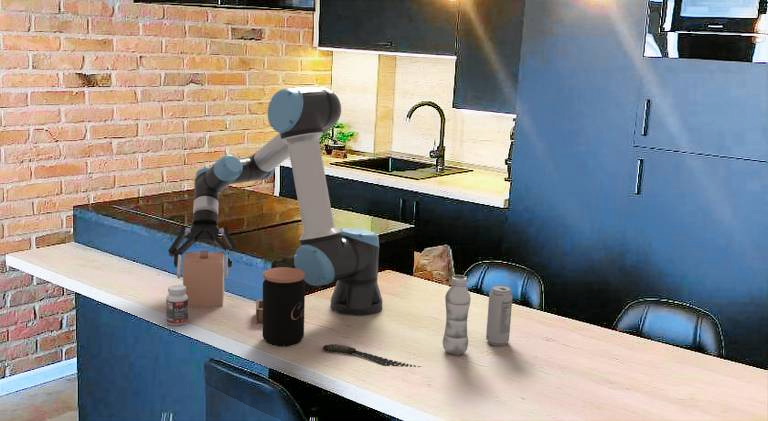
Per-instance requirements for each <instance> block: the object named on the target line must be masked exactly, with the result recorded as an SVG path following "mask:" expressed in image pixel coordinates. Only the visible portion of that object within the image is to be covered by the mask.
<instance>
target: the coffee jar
mask: <svg viewBox="0 0 768 421" xmlns="http://www.w3.org/2000/svg"><path fill="white" fill-rule="evenodd" d="M262 276H263V279H264V280H263V282H262V300H263V323H262V331H261V332H262V337H263V340H264V342H265V343H266V344H268V345H270V346H274V347H290V346H291V347H292V346H296V345H298V344H299V343H301V341H302V339H304V336H305V302H306V301H305V297H306V296H305V294H306V290H305V289H306V282H305V280H304V277H305V273H304V271H302V270H299V269H296V267H288V266H287V267H283V266H282V267H279V266H278V267H273V268H269V269H268V268H267V269H266V270H264V271H263V272H262Z"/></svg>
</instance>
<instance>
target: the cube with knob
mask: <svg viewBox="0 0 768 421" xmlns="http://www.w3.org/2000/svg"><path fill="white" fill-rule="evenodd" d="M184 254H185V255H184V259H183V260H182V285H184V286H186V292H185V294H186V295H187V296H188V308H189V307H223V306H224V300H225V299H224V297H225V253H224V252H223V251H219V252H218V251H217V252H216V251H211V252H210V251H208V250H201V251H199V252H197V251H193V252H190V251H189V252H188V251H185V253H184Z"/></svg>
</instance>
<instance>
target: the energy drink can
mask: <svg viewBox="0 0 768 421" xmlns="http://www.w3.org/2000/svg"><path fill="white" fill-rule="evenodd" d="M512 307H513V293H512V290H511V287H510V286H506V285H500V284H498V285H493V286H492V287H491V290H490V291H489V293H488V306H487V308H488V309H487V319H486V320H487V321H486V333H485V335H486V336H485V339H486V340H487V343H488V344H489V345H492V346H496V347H503V346H506V345H507V344H508V342H510V334H511V333H510V332H511V321H512V309H513V308H512Z"/></svg>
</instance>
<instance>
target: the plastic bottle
mask: <svg viewBox="0 0 768 421" xmlns="http://www.w3.org/2000/svg"><path fill="white" fill-rule="evenodd" d="M467 280H468V279H467V277H466V276H465V275H462V274H455V275H452V277H451V282H450V285H451V286H450V288H448V290H447V291H446V293H445V296H444V297H445V299H444V300H445V313H446V314H445V316H446V318H445V319H446V320H445V321H446V322H445V329H444V333H443V334H444V335H443V337H442V348H443V349H444V351H445V352H446V353H447V354H450V355H455V356H456V355H463V354H466V352H467V350H468V347H469V337H468V336H469V335H468V318H469V317H468V315H469V309H470V305H471V299H472V298H471V293H470V291H469V290H468V288H467V287H466V286H467V284H468V283H467Z"/></svg>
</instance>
